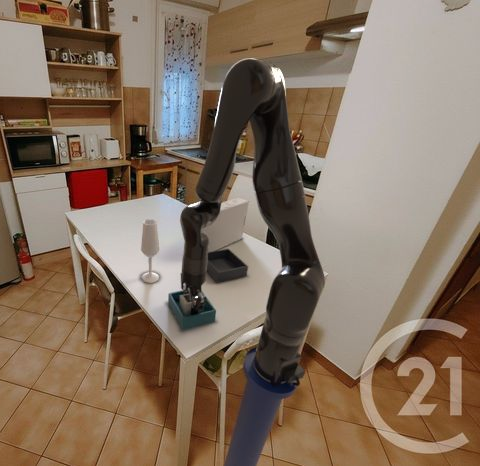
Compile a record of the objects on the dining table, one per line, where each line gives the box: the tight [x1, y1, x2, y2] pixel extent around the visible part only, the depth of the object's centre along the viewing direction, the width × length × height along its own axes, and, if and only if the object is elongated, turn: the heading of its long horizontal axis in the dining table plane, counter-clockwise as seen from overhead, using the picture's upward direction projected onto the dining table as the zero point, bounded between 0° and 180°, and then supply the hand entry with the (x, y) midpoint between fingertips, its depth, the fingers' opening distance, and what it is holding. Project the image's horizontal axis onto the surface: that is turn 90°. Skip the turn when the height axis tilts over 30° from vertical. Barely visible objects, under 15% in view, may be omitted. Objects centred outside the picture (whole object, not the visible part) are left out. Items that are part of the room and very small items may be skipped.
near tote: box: [167, 289, 217, 331], centre depth 85 cm, size 12×11×5 cm
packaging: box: [201, 197, 250, 252], centre depth 121 cm, size 30×6×20 cm, turn 128°
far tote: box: [207, 248, 249, 283], centre depth 107 cm, size 14×13×5 cm
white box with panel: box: [179, 293, 202, 317], centre depth 85 cm, size 4×6×6 cm
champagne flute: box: [140, 218, 160, 284], centre depth 97 cm, size 7×7×24 cm
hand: (190, 308), depth 86 cm, fingers open, 5 cm apart
